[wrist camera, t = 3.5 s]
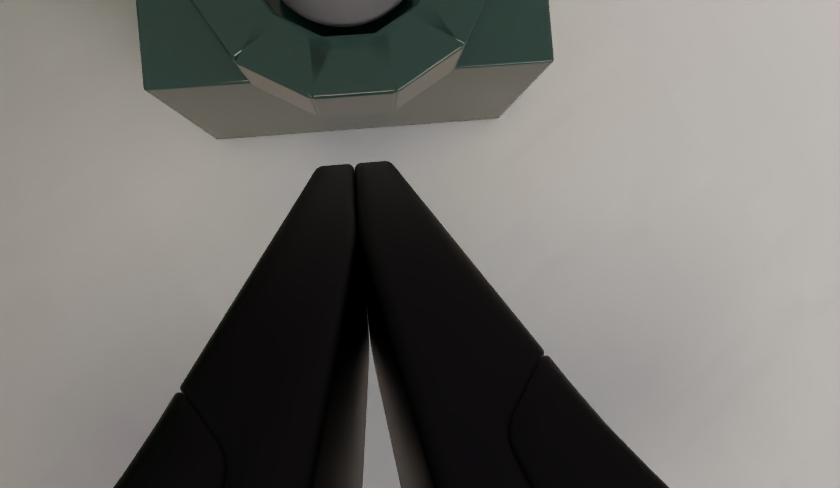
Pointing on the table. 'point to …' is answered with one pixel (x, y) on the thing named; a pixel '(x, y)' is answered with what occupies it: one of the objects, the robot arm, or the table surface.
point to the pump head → (342, 11)
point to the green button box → (339, 63)
